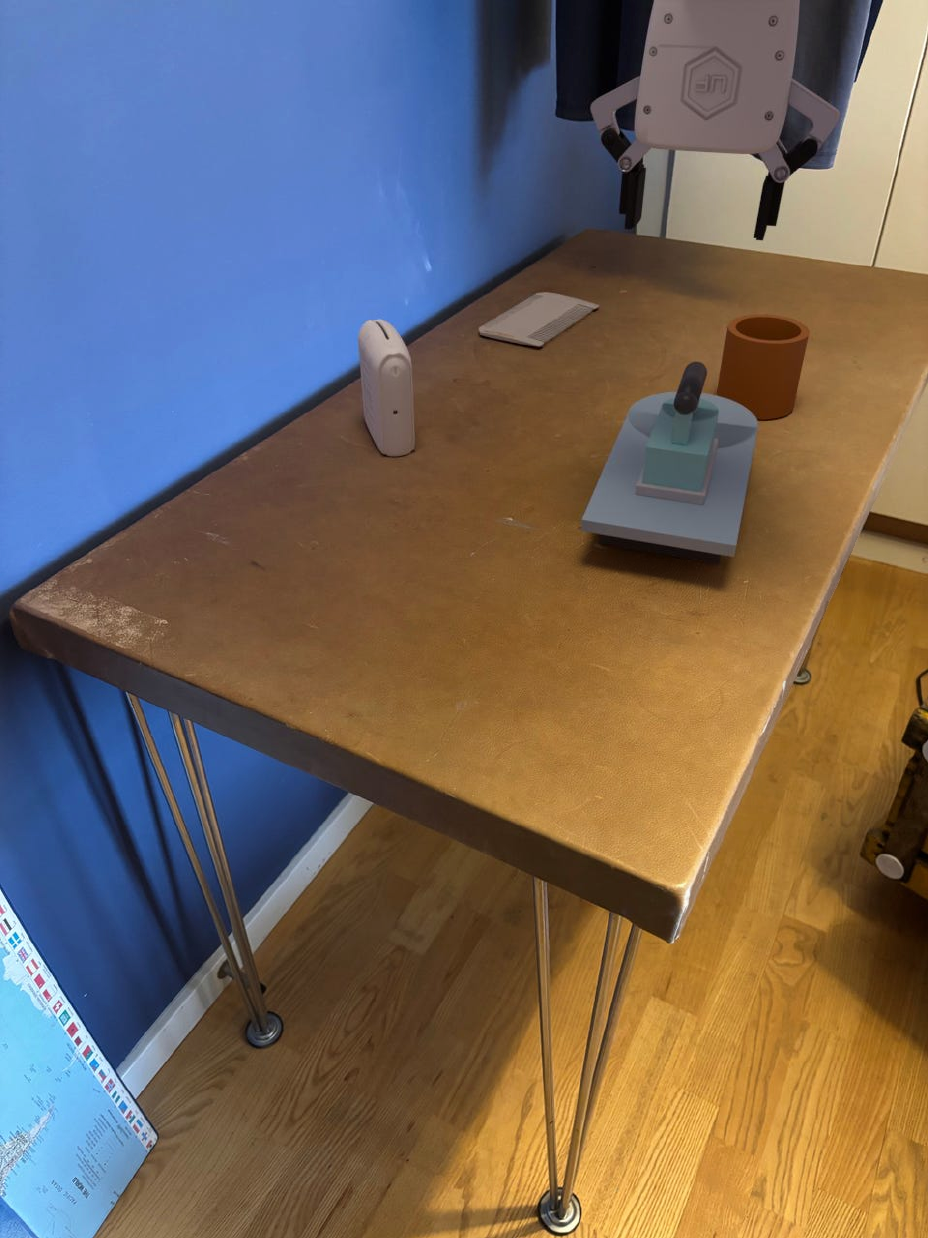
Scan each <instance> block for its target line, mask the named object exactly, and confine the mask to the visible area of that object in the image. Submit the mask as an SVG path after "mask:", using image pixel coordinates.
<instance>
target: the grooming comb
mask: <svg viewBox="0 0 928 1238" xmlns="http://www.w3.org/2000/svg"><path fill="white" fill-rule="evenodd" d="M599 307H601V306H600V304H598V303H597V304H596V303H593V302H590V301H586V300H583V299H581V298H577V297H573V296H568V295H563V294H559V293H555V292H549V291H548V292H546V291H545V292H537V293H534V294H532V295H531V296H529V297H528V298H526V299H524V300H523V301H521V302H520V303H518V304H516V305H515V306H513V307H512V308H509V309H508V310H506V311H504V312H503V313H501V314H499V315H498V316H496V317H495V318H493V319H491V320H489V321H487V322H486V323H483V325H481V326H479V327H478V333H479V335H481V336H484V337H487V338H491V339H494V340H498V341H504V342H509V343H513V344H518V345H524V346H525V345H526V346H530V347H531V346H532V347H538V348H539V347H542V346H543V345H545V343H547V342H548V341H550V340H552V339H553V338H555V337H556V336H557V335H559V334H561V332H563V331H566V330H567V329H568V328H569V327H571V326H572V325H574V323H577V322H578V321H580V320H581V319H584V318H586V316H587V315H588V314H590V313H591V312H593V311H594V310H596V309H598V308H599Z"/></svg>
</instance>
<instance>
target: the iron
mask: <svg viewBox="0 0 928 1238" xmlns="http://www.w3.org/2000/svg"><path fill="white" fill-rule="evenodd" d="M707 377H708V369H707V367H706V365H705V364H704V363H703V362H700V361H692V362H690V363H688V364H687V366H686V367H685V368H684V371H683V373H682V377H681V380H680V382H679V385H678V387H677V393H676V396H675V398H672V399H669V400H667V401H665V402H664V403H663V404H662V406H661V409H660V412H659V415H658V417H657V420H656V423H655V425H654V428H653V431H652V433H651V436H650V439H649V441H648V444H647V447H646V454H645V462H644V466H643V468H642V471H641V474H640V477H639V479H638V482H637V485H636V491H635V494H636V495H642V496H648V497H655V498H661V499H667V500H674V501H680V502H686V503H693V504H699V505H703V504H704V500H705V496H706V492H707V488H708V484H709V480H710V476H711V472H712V468H713V464H714V459H715V455H716V451H717V447H718V442H719V439H714V437H715V431H716V426H717V420H718V415H719V410H718V408H717V406H716V405H714V404H713V403H711V402H709V401H707V400H704V399H700V396H701V393H703V389H704V386H705V382H706V378H707Z"/></svg>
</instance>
